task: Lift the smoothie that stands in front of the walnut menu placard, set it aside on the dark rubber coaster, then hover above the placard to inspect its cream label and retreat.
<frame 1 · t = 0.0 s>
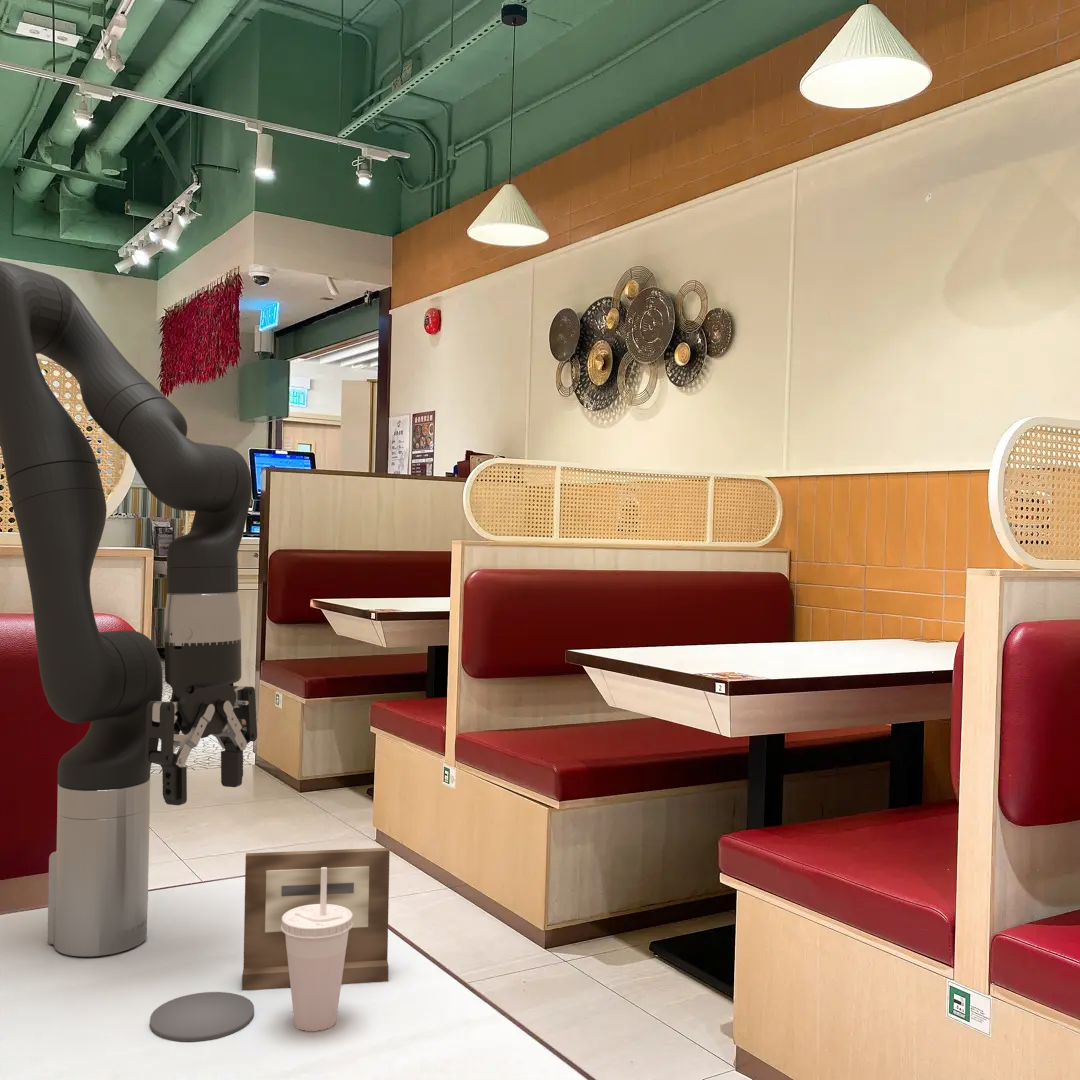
hand: (204, 794, 110), 17 cm above the table, tool pointing down, fingers open, 8 cm apart
placard: (316, 977, 107), on the table
smoothie: (315, 1024, 97), on the table
coaster: (202, 1018, 97), on the table
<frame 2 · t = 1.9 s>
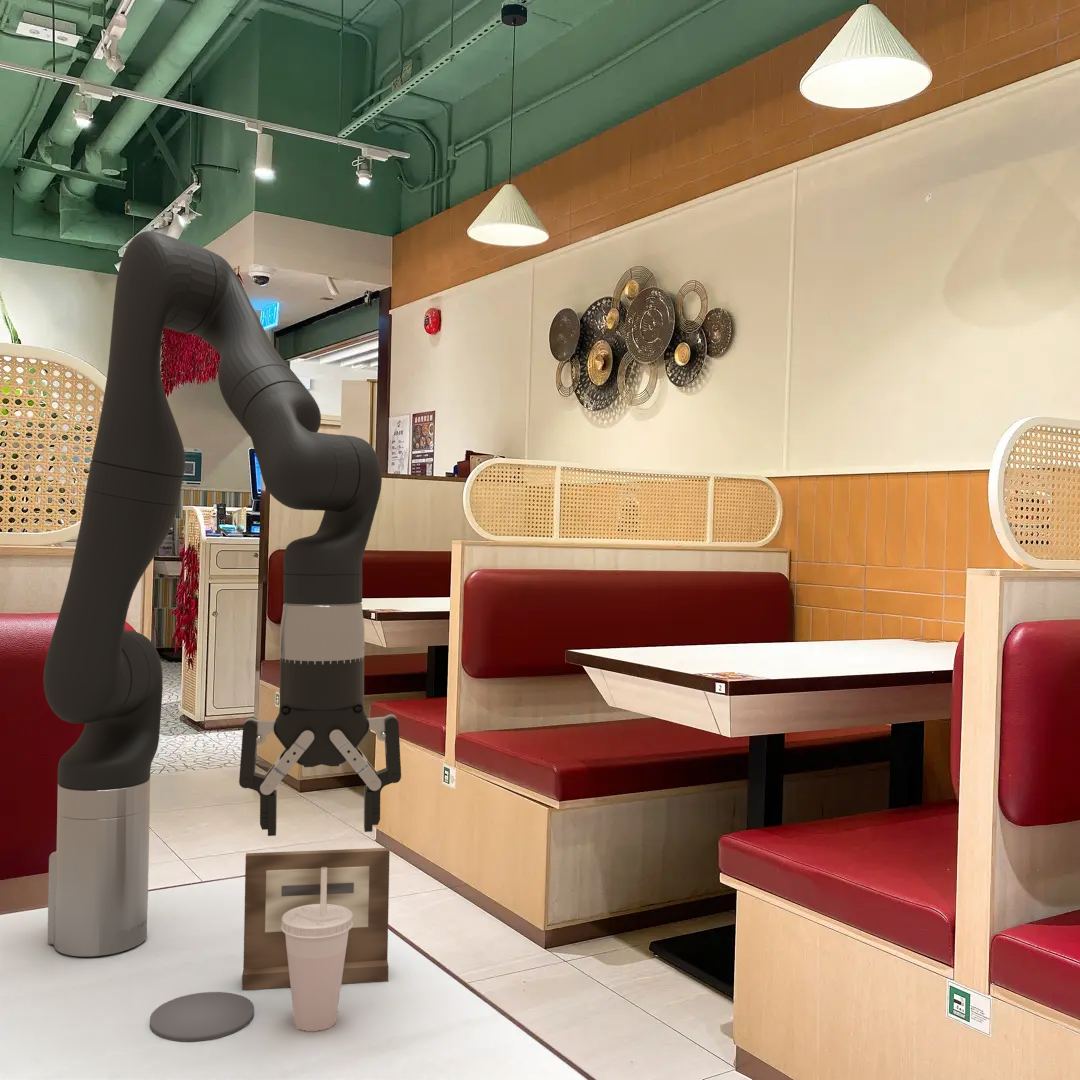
hand: (320, 831, 97), 17 cm above the table, tool pointing down, fingers open, 8 cm apart
nothing on the table moved.
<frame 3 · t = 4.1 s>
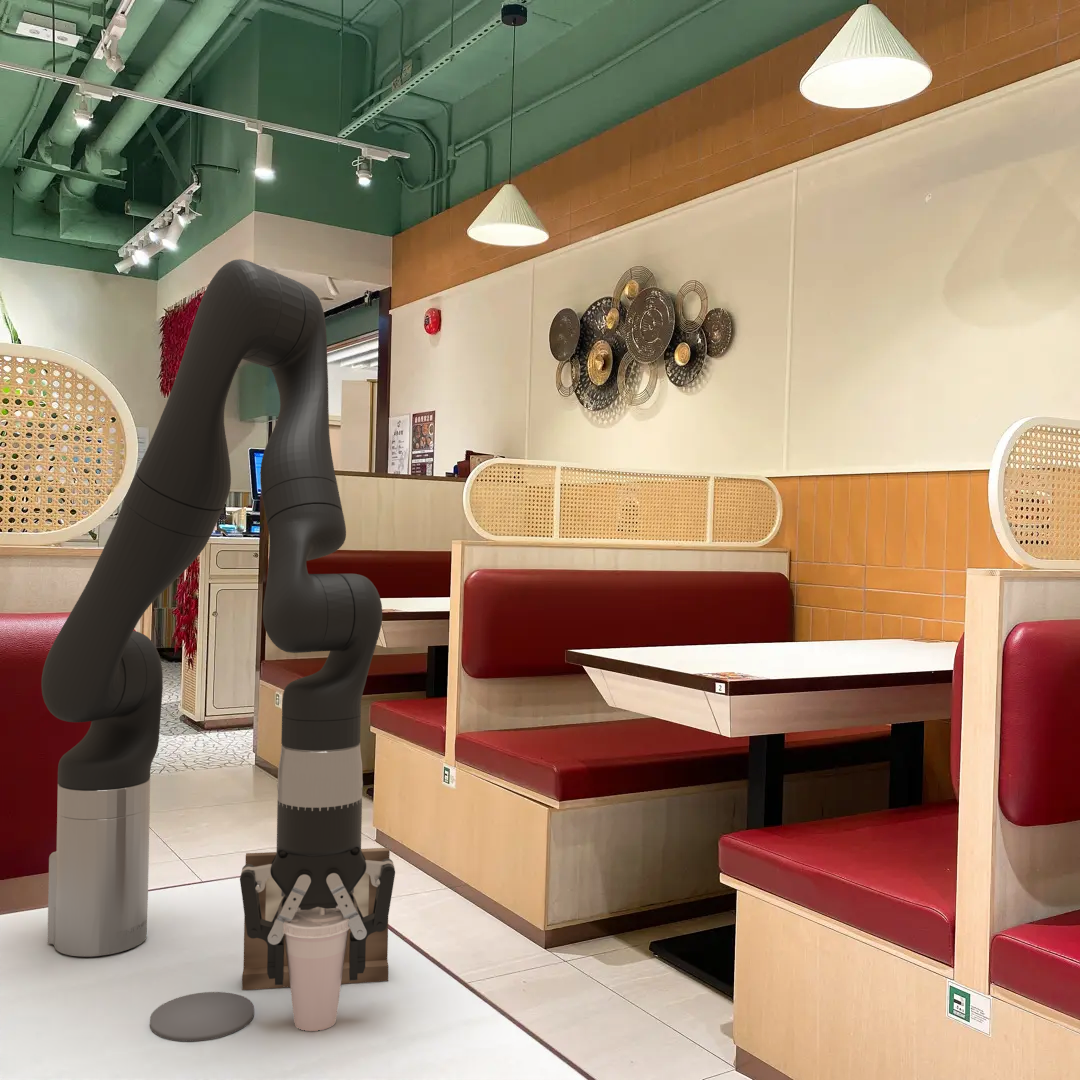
hand: (316, 978, 97), 4 cm above the table, tool pointing down, fingers closed on smoothie, 6 cm apart
smoothie: (315, 1023, 97), on the table, touching gripper
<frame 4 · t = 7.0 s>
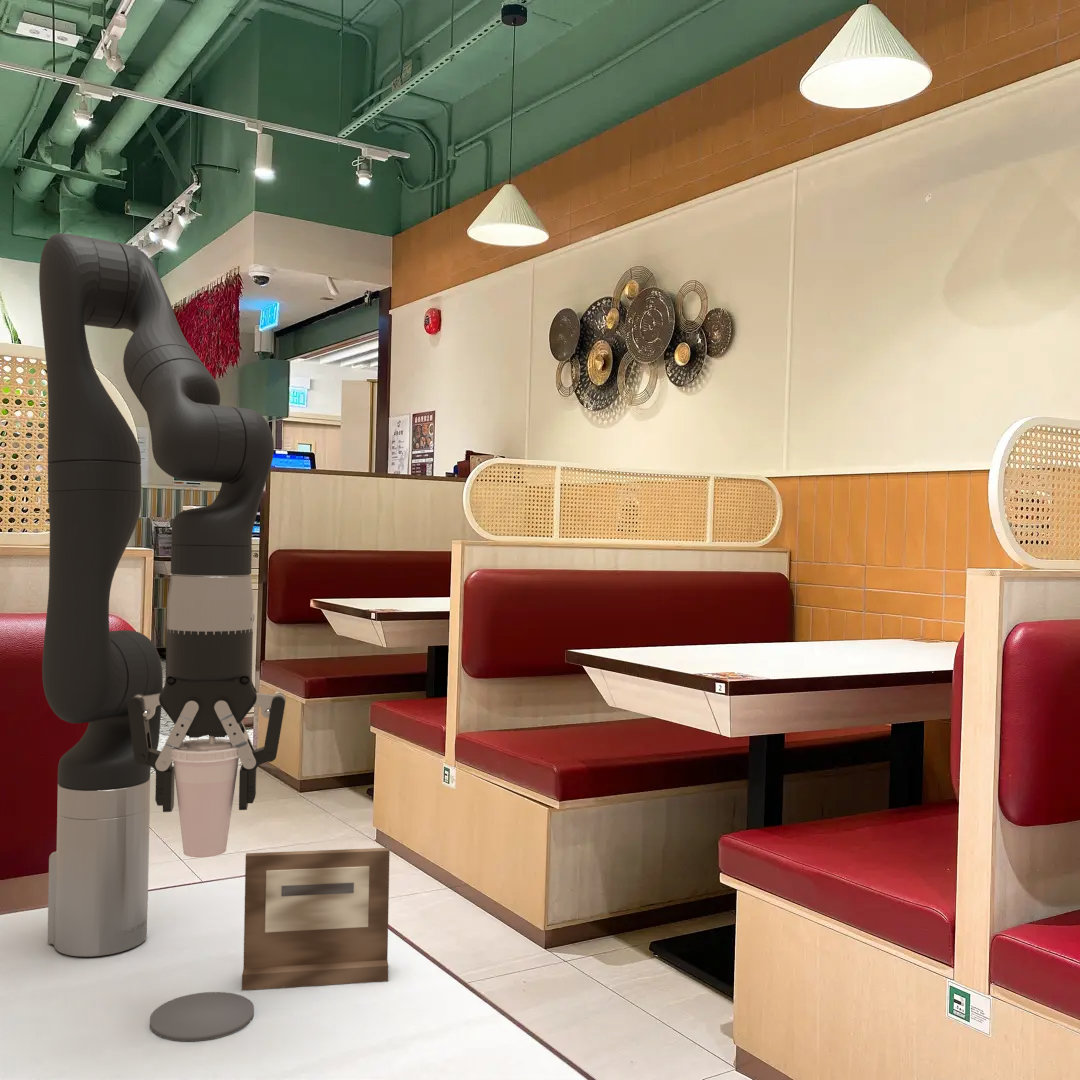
hand: (206, 808, 97), 19 cm above the table, tool pointing down, fingers closed on smoothie, 6 cm apart
smoothie: (204, 853, 97), point 15 cm above the table, touching gripper
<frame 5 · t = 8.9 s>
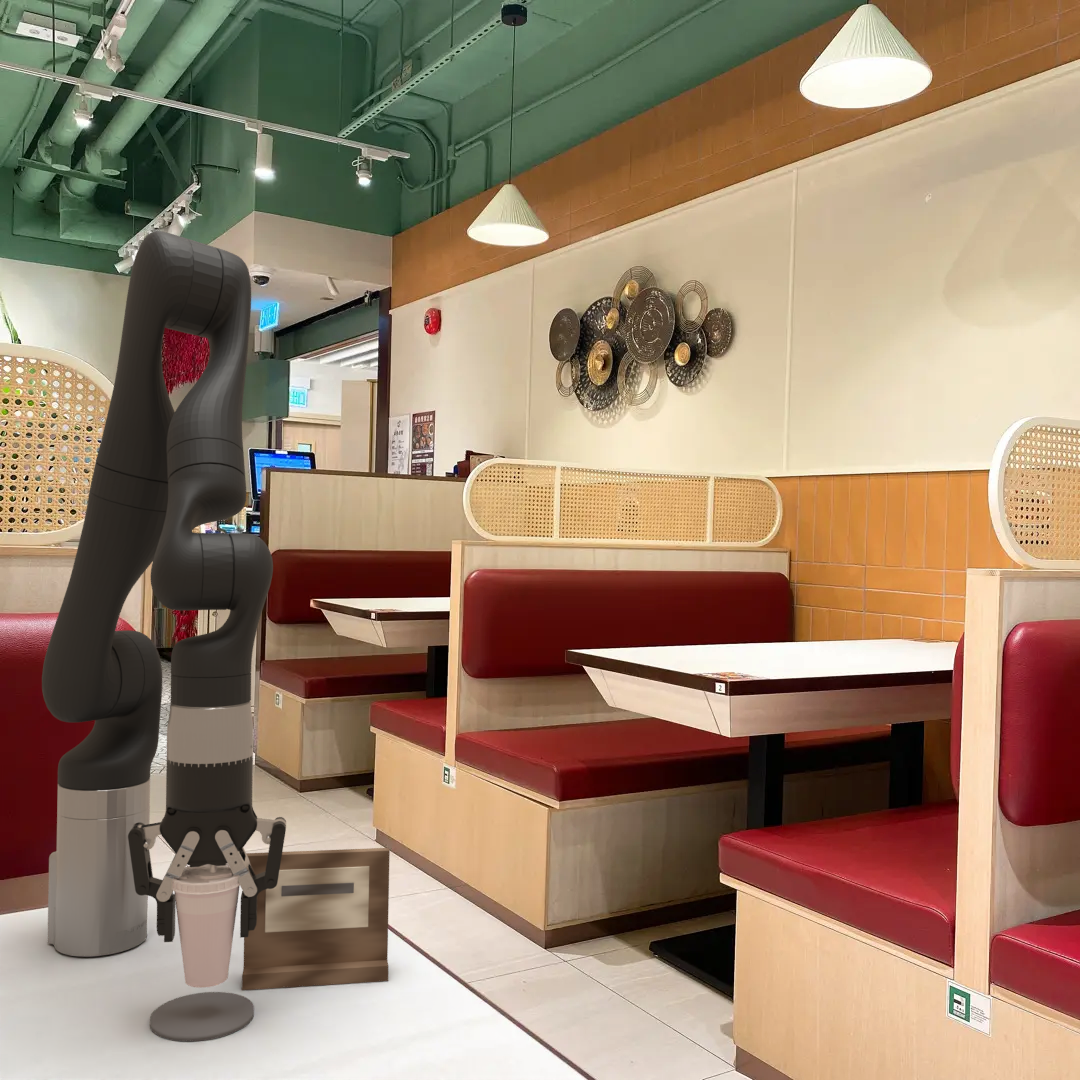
hand: (207, 936, 97), 7 cm above the table, tool pointing down, fingers closed on smoothie, 6 cm apart
smoothie: (206, 981, 97), point 3 cm above the table, touching gripper
when the fingers open (6 cm above the table, at t = 10.3 s): smoothie drops 1 cm, resting on coaster.
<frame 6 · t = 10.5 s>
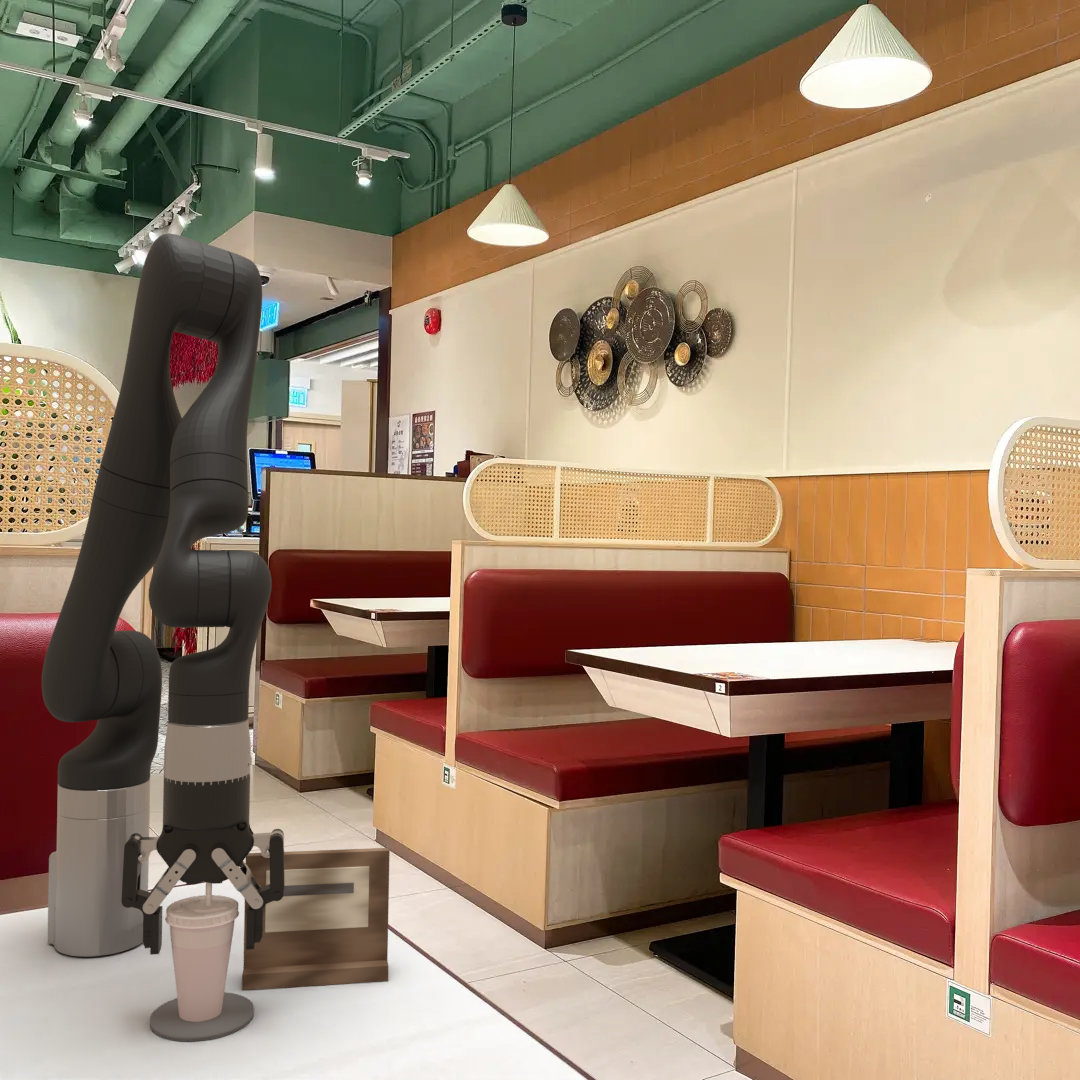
hand: (203, 948, 97), 6 cm above the table, tool pointing down, fingers open, 8 cm apart
smoothie: (200, 1014, 97), resting on coaster
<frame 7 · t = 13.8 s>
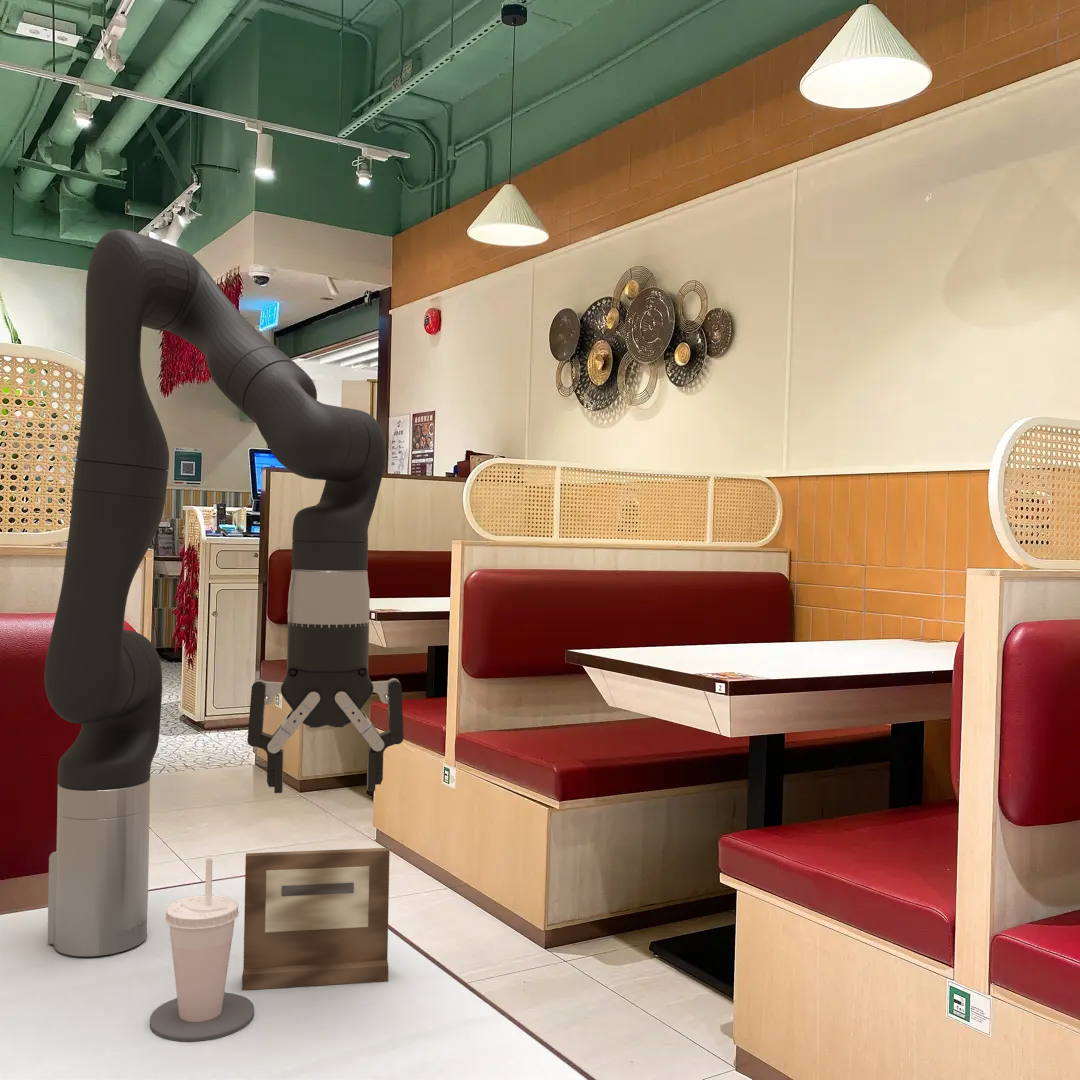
hand: (325, 790, 100), 20 cm above the table, tool pointing down, fingers open, 8 cm apart
nothing on the table moved.
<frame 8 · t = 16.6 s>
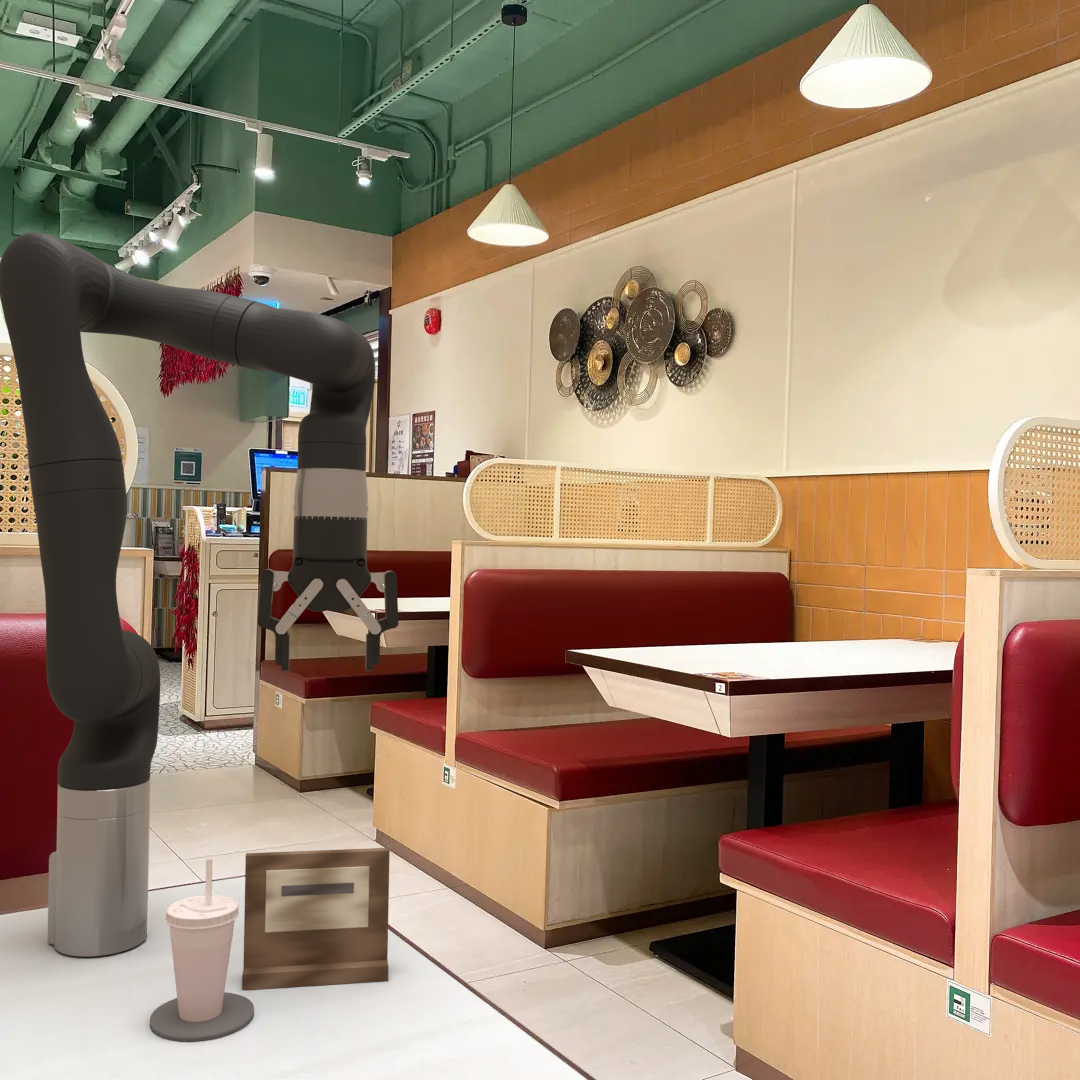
hand: (327, 670, 111), 30 cm above the table, tool pointing down, fingers open, 8 cm apart
nothing on the table moved.
at the end: smoothie 0.2 cm from the coaster (horizontally); smoothie tilted 0°; the gripper is holding nothing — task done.
